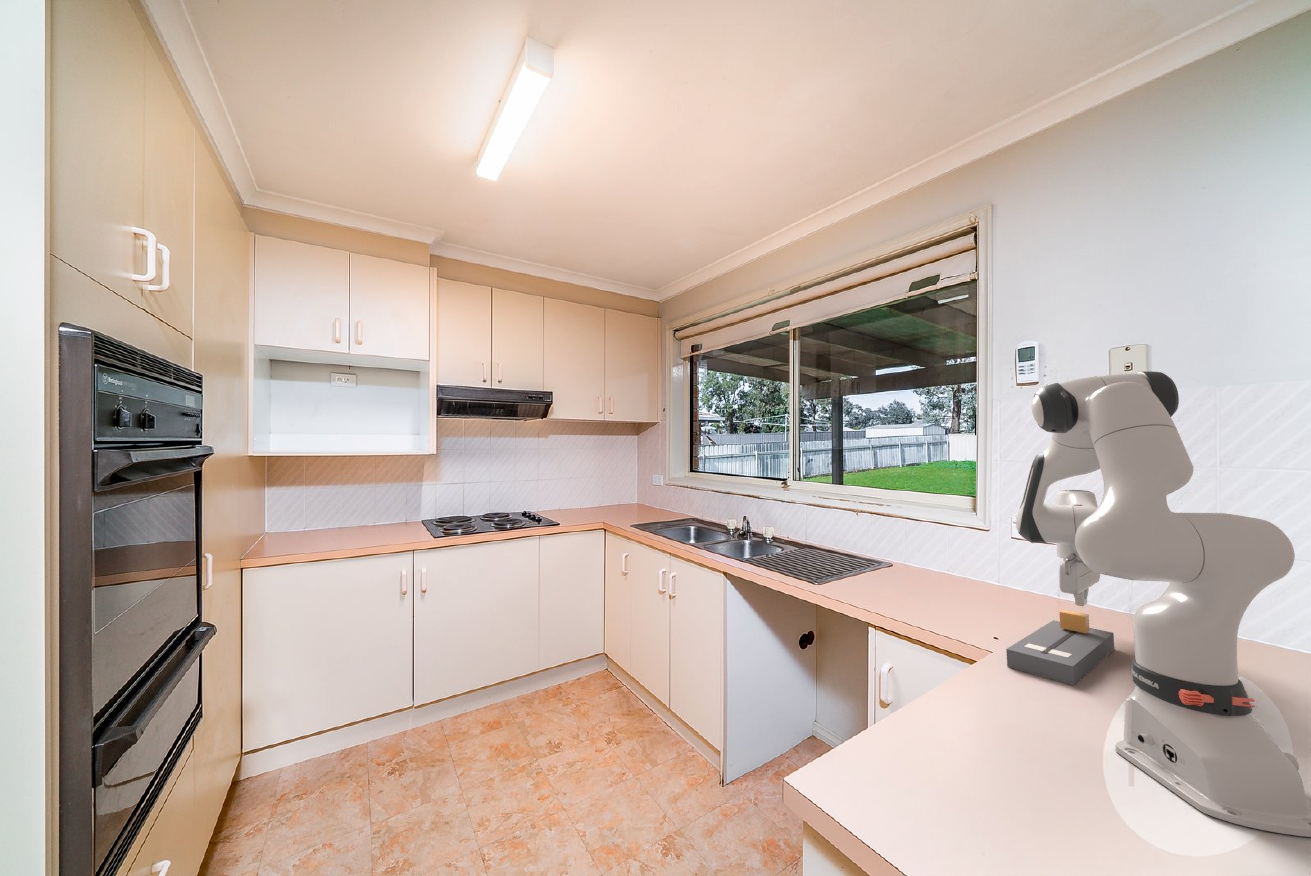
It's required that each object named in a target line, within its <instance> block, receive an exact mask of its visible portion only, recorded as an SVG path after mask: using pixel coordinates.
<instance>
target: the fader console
mask: <svg viewBox="0 0 1311 876" xmlns="http://www.w3.org/2000/svg"><path fill="white" fill-rule="evenodd" d="M1089 629H1090V631H1089V632H1087V633H1082V632H1077V631H1072V630H1068V629H1063V628H1060V620H1055V619H1053V620H1052V621H1050V622H1048V623H1047V624H1045V625H1043V626H1042V627H1039V628H1038V629H1036V630H1034V631H1033V632H1032V633H1030V634H1028V635H1026V636H1025V637H1024V638H1023V637H1022V638H1021V639H1020V640H1019V641H1017V642H1015V643H1014V644H1012V645H1011V646H1009V647H1007V648H1006V649H1005V650H1006V666H1007V668H1011V669H1014V670H1018V671H1022V672H1025V673H1028V674H1032V675H1036V676H1039V677H1043V678H1045V679H1049V680H1054V681H1056V682H1060V683H1063V684H1067V685H1069V686H1074V687H1075V686H1076V685H1077V684H1078V683H1079V682H1080V681H1081V680H1083V678H1084V677H1086V676H1087V675H1088V673H1090V672H1091V671H1092V670H1093V669H1094V668H1095V667H1096V666H1098V665H1099V664H1100V663H1101V662H1102V661H1103V660H1104V659H1105V658H1106V657H1108V655H1110V654H1111V653H1112V652H1113V651H1115V635H1114V634H1115V633H1114V632H1112V631H1107V630H1104V629H1103V630H1101V629H1097V628H1093V627H1092V628H1091V627H1089Z"/></svg>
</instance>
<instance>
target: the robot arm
mask: <svg viewBox="0 0 1311 876" xmlns="http://www.w3.org/2000/svg"><path fill="white" fill-rule="evenodd" d="M1179 397H1180V396H1179V391H1178V388H1177V385H1176V383H1175V381H1173V379H1172V378H1171V377H1169V375H1167V374H1166V373H1164V372H1162V371H1160V372H1159V371H1151V370H1150V371H1146V370H1145V371H1138V372H1135V373H1119V374H1110V375H1109V374H1108V375H1101V376H1100V375H1099V376H1098V375H1096V376H1089V377H1083V378H1078V379H1073V380H1070V381H1069V380H1067V381H1065V382H1061V383H1059V382H1055V383H1052V384H1051V383H1050V384H1048V385H1045V386H1042V387H1040V388H1038V389H1037V391H1036V392H1035V393H1034V395H1033V400H1032V403H1031V404H1032V405H1031V412H1032V416H1033V418H1034V420H1035V422H1036V423H1037V425H1038V426H1039V428H1040V429H1042V430H1043V431H1045V432H1048V433H1051V435H1052V437H1051V441H1050V444H1049V445H1048V446H1047V448H1045V450H1043V451H1042V452H1039V453H1037V454H1036V455H1035V456H1034V459H1033V461H1032V464H1031V467H1030V470H1029V473H1028V477H1027V482H1026V485H1025V489H1024V493H1023V497H1022V501H1021V504H1020V507H1019V509H1018V511H1017V514H1016V519H1015V527H1016V530H1017V532H1018V534H1019V536H1021V537H1022V538H1023V539H1024V540H1026V541H1028V543H1031V544H1047V543H1048V544H1051V543H1052V544H1056V556H1057V557H1058V558H1060V559H1063V560H1062V561H1061V562H1060V564H1059V571H1058V572H1059V573H1058V574H1059V581H1058V582H1059V589H1060V591H1061V592H1062V593H1065V594H1069V595H1070V594H1071V595H1072V596H1073V597H1074V603H1075V605H1076V606H1078V607H1085V606H1086V605H1087V604H1088V596H1089V588H1091V587H1092V586H1094V585H1095V584H1097V583H1099V582H1100V578H1101V575H1104V576H1109V577H1113V578H1118V579H1122V580H1123V579H1124V580H1128V581H1139V582H1141V581H1142V582H1143V581H1144V582H1163V583H1165V582H1166V583H1167V582H1168V583H1169V584H1168V586H1167V587H1166V590H1165V591H1164V592H1163V594H1162V595H1160V596H1159V597H1158V598H1156V599H1154V600H1153V601H1150V602H1147V603H1146V604H1143V605H1141V606H1140V607H1139V608H1138V609H1137V610H1136V612H1135V613H1134V615H1133V618H1132V625H1133V626H1132V627H1133V641H1134V656H1135V657H1134V658H1133V659H1132V661H1131V662H1132V663H1131V667H1130V668H1131V669H1130V670H1131V674H1132V682H1133V683H1134V685H1135V687H1134V689H1133V691H1132V693H1131V694H1130V695H1129V696H1128V697H1127V698H1126V700H1125V704H1124V706H1125V707H1124V724H1123V740H1121V741H1118V742H1115V748H1114V750H1115V752H1116V753H1117V754H1118V755H1120V756H1121V757H1124V759H1126V760H1127V761H1129V762H1130V763H1132V764H1133V765H1134V766H1136V767H1137V768H1139V769H1140V770H1141V771H1143V772H1144V773H1146V774H1147V775H1148V776H1150V777H1151V778H1153V780H1154V779H1155V780H1156V781H1157V782H1159V783H1160V784H1161V785H1162V786H1164V787H1166V788H1167V789H1169V790H1170V791H1172V793H1174V794H1176V796H1179V797H1180V798H1181V799H1183V800H1184V801H1185V802H1187V803H1188V804H1190V805H1191V806H1193V807H1194V808H1196V809H1197V810H1198V811H1200V812H1202V813H1203V814H1205V815H1209V816H1211V817H1214V818H1216V819H1219V820H1222V821H1225V822H1229V823H1232V824H1235V825H1239V826H1243V827H1248V828H1251V829H1256V830H1257V829H1258V830H1261V831H1266V832H1271V833H1276V834H1277V833H1278V834H1283V835H1290V836H1291V835H1292V836H1298V837H1309V838H1311V799H1308V798H1307V797H1306V793H1305V787H1304V782H1303V779H1302V776H1301V775H1300V772H1299V770H1300V764H1299V762H1298V760H1297V759H1296V757H1295V756H1294V755H1293V754H1292V753H1290V752H1287V751H1286V752H1284V751H1282V750H1281V748H1280V747H1279V746H1278V745H1277V744H1276V743H1275V741H1274V739H1272V737H1271V736H1270V735H1269V734H1268V733H1267V732H1266V730H1265V729H1264V728H1263V727H1262V726H1261V724H1259V722H1258V720H1256V718H1255V717H1254V715H1253V714H1252V713H1253V708H1256V705H1254V704H1251V703H1253V702H1256V700H1255V699H1254V698H1249V694H1248V692H1247V691H1246V689H1245V686H1244V685H1243V682H1242V680H1240V679H1239V672H1238V671H1239V669H1238V633H1239V629H1240V624H1241V622H1242V621H1241V620H1243V619H1242V618H1243V616H1244V614H1245V612H1246V611H1247V609H1248V607H1249V606H1250V604H1251V603H1252V601H1254V599H1255V598H1256V596H1257V595H1259V594H1260V593H1261V592H1262V591H1263V590H1264V589H1265V588H1267V587H1268V586H1269V585H1272V584H1273V583H1275V582H1277V581H1279V580H1280V579H1281V580H1282V579H1283V578H1285V576H1286V575H1288V574H1289V572H1290V571H1291V570H1292V567H1293V566H1294V563H1295V556H1296V555H1295V549H1294V545H1293V543H1292V542H1291V540H1290V538H1289V537H1288V536H1287V534H1286V533H1285V532H1284V531H1283V530H1282V529H1281V528H1280V527H1278V526H1277V525H1276V524H1274V523H1273V522H1270V521H1269V520H1265V519H1262V518H1256V517H1252V516H1251V517H1250V516H1245V515H1239V514H1232V513H1226V512H1174V511H1171V508H1170V507H1169V505H1168V500H1167V496H1168V495H1170V494H1173V493H1174V492H1176V491H1179V490H1180V489H1182V488H1183V487H1185V486H1186V485H1187V484H1188V483H1189V482H1190V480H1191V479H1192V477H1193V474H1194V465H1193V463H1192V460H1191V459H1190V456H1189V453H1188V451H1187V449H1186V447H1185V445H1184V442H1183V440H1182V438H1181V436H1180V433H1179V430H1178V429H1177V427H1176V425H1175V422H1174V421H1173V418H1172V417H1173V415H1174V414H1175V413H1176V412H1177V411H1178V408H1179V402H1180V398H1179ZM1099 470H1100V472H1101V475H1102V480H1103V495H1102V498H1101V502H1100V503H1099V505H1098V501H1097V497H1096V494H1095V493H1094V492H1092V491H1089V490H1083V489H1066V490H1061V491H1058V492H1057V494H1056V497H1055V498H1056V499H1055V504H1046V503H1045V499H1046V497H1047V492H1048V489H1049V487H1051V485H1053V484H1055V483H1057V482H1059V481H1062V480H1065V479H1069V478H1074V477H1077V476H1083V475H1087V474H1091V473H1094V472H1097V471H1099Z"/></svg>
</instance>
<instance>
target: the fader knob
mask: <svg viewBox="0 0 1311 876" xmlns="http://www.w3.org/2000/svg"><path fill="white" fill-rule="evenodd" d="M1059 622H1060V628H1063V629H1068V630H1072V631H1077V632H1082V633H1087V632H1089V631H1090V629H1089V628H1090V615H1089V614H1088V613H1083V612H1077V611H1072V610H1067V609H1063V610H1060V611H1059Z"/></svg>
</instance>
